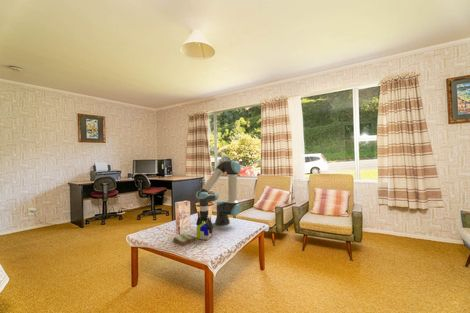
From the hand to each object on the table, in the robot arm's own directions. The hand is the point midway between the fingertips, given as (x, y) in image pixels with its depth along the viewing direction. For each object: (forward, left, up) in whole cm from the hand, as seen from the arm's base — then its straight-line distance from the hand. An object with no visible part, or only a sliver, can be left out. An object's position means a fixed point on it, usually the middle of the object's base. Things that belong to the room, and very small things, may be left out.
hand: (204, 235), depth 186 cm
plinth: (+15, -8, -2) cm, 17 cm away
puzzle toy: (0, 0, -2) cm, 2 cm away
